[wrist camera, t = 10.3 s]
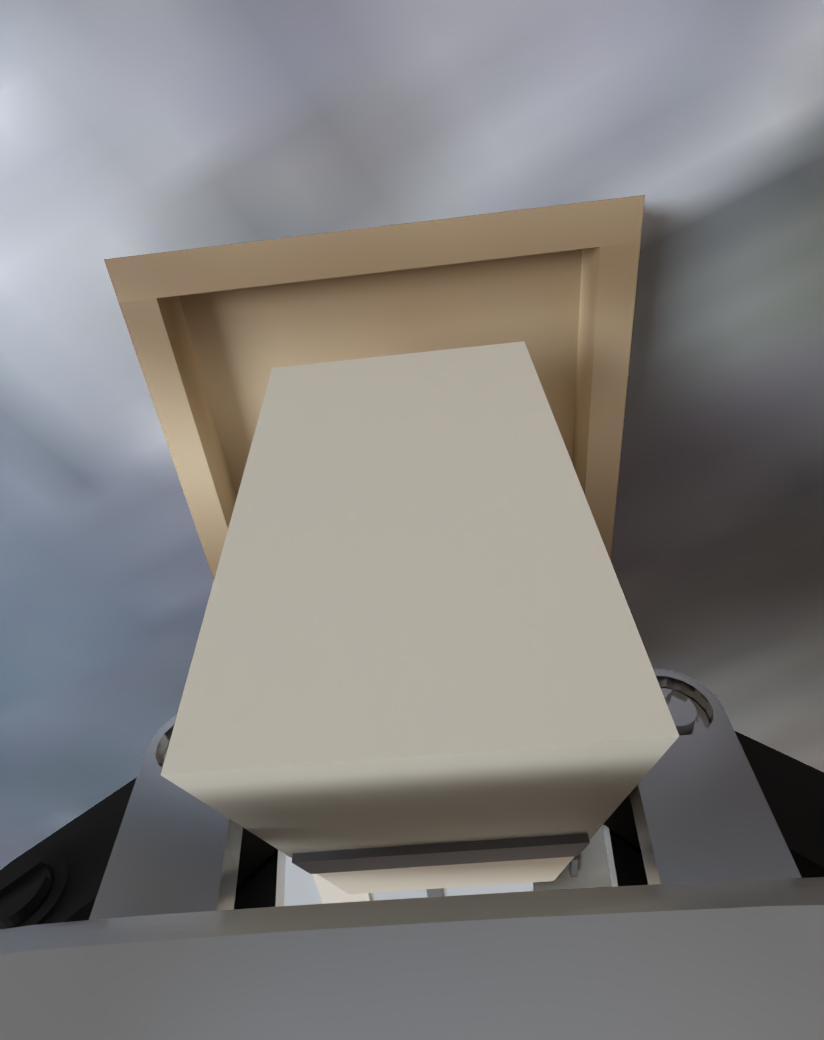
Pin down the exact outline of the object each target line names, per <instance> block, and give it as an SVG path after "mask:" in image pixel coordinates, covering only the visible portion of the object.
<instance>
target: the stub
mask: <svg viewBox="0 0 824 1040" xmlns="http://www.w3.org/2000/svg"><path fill="white" fill-rule="evenodd" d="M678 737H679V734H678V731H677V729H676V726H675V724H674V721H673V719H672V716H671V713H670V711H669V708H668V706H667V703H666V701H665V698H664V696H663V693H662V691H661V688H660V685H659V683H658V680H657V678H656V675H655V673H654V670H653V668H652V665H651V663H650V660H649V657H648V655H647V652H646V650H645V647H644V645H643V642H642V640H641V637H640V635H639V632H638V629H637V627H636V624H635V622H634V619H633V617H632V614H631V612H630V609H629V607H628V604H627V601H626V599H625V596H624V594H623V591H622V589H621V586H620V584H619V581H618V579H617V576H616V573H615V571H614V568H613V566H612V563H611V561H610V558H609V556H608V553H607V551H606V548H605V545H604V543H603V540H602V538H601V535H600V533H599V530H598V528H597V525H596V523H595V520H594V517H593V515H592V512H591V510H590V507H589V505H588V502H587V500H586V497H585V495H584V492H583V489H582V487H581V484H580V482H579V479H578V477H577V474H576V472H575V469H574V467H573V464H572V461H571V459H570V456H569V454H568V451H567V449H566V446H565V444H564V441H563V439H562V436H561V433H560V431H559V428H558V426H557V423H556V421H555V418H554V416H553V413H552V411H551V408H550V405H549V403H548V400H547V398H546V395H545V393H544V390H543V388H542V385H541V383H540V380H539V377H538V375H537V372H536V370H535V367H534V365H533V362H532V360H531V357H530V355H529V352H528V349H527V347H526V344H525V342H524V341H521V342H512V343H502V344H493V345H484V346H474V347H465V348H455V349H446V350H436V351H427V352H418V353H408V354H399V355H389V356H380V357H371V358H361V359H352V360H342V361H333V362H323V363H314V364H305V365H295V366H286V367H276V368H272V371H271V375H270V378H269V382H268V386H267V389H266V393H265V397H264V400H263V404H262V408H261V411H260V415H259V419H258V422H257V426H256V429H255V433H254V437H253V440H252V444H251V448H250V451H249V455H248V459H247V462H246V466H245V469H244V473H243V477H242V480H241V484H240V488H239V491H238V495H237V499H236V502H235V506H234V510H233V513H232V517H231V520H230V524H229V528H228V531H227V535H226V539H225V542H224V546H223V550H222V553H221V557H220V560H219V564H218V568H217V571H216V575H215V579H214V582H213V586H212V590H211V593H210V597H209V601H208V604H207V608H206V611H205V615H204V619H203V622H202V626H201V630H200V633H199V637H198V641H197V644H196V648H195V652H194V655H193V659H192V662H191V666H190V670H189V673H188V677H187V681H186V684H185V688H184V692H183V695H182V699H181V702H180V706H179V710H178V713H177V717H176V721H175V724H174V728H173V732H172V735H171V739H170V743H169V746H168V750H167V753H166V757H165V761H164V764H163V768H162V772H161V776H163V777H164V778H166V779H167V780H169V781H171V782H172V783H174V784H175V785H177V786H178V787H180V788H182V789H183V790H185V791H186V792H188V793H189V794H191V795H193V796H194V797H196V798H197V799H199V800H201V801H202V802H204V803H205V804H207V805H208V806H210V807H212V808H213V809H215V810H216V811H218V812H220V813H221V814H223V815H224V816H226V817H227V818H229V819H231V820H232V821H234V822H235V823H237V824H238V825H240V826H242V827H243V828H245V829H246V830H248V831H250V832H251V833H253V834H254V835H256V836H257V837H259V838H261V839H262V840H264V841H265V842H267V843H268V844H270V845H272V846H273V847H275V848H276V849H278V850H280V851H281V852H283V853H284V854H286V855H287V856H289V857H291V858H292V863H293V864H295V865H296V866H298V867H300V868H301V869H303V870H305V871H306V872H308V873H309V874H317V875H319V876H321V877H322V878H324V879H325V880H327V881H329V882H330V883H332V884H333V885H335V886H336V887H338V888H340V889H341V890H343V891H344V892H346V893H347V894H362V893H377V892H392V891H408V890H423V889H439V888H454V887H470V886H485V885H501V884H516V883H531V882H547V881H554V880H555V879H556V878H557V877H558V875H559V874H560V873H561V872H562V871H563V870H564V868H565V867H566V866H567V865H568V864H569V863H570V862H571V860H572V859H573V858H574V857H575V856H578V855H579V854H580V853H581V852H582V851H583V850H584V849H585V847H586V846H587V845H588V844H589V843H590V841H589V840H590V839H591V837H592V836H593V835H594V834H595V833H596V832H597V831H598V829H599V828H600V827H601V826H602V825H603V824H604V822H605V821H606V820H607V819H608V818H609V817H610V816H611V814H612V813H613V812H614V811H615V810H616V809H617V807H618V806H619V805H620V804H621V803H622V802H623V801H624V799H625V798H626V797H627V796H628V795H629V794H630V793H631V791H632V790H633V789H634V788H635V787H636V786H637V784H638V783H639V782H640V781H641V780H642V779H643V778H644V776H645V775H646V774H647V773H648V772H649V771H650V770H651V768H652V767H653V766H654V765H655V764H656V763H657V761H658V760H659V759H660V758H661V757H662V756H663V755H664V753H665V752H666V751H667V750H668V749H669V748H670V746H671V745H672V744H673V743H674V742H675V741H676V740H677V738H678Z"/></svg>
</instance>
